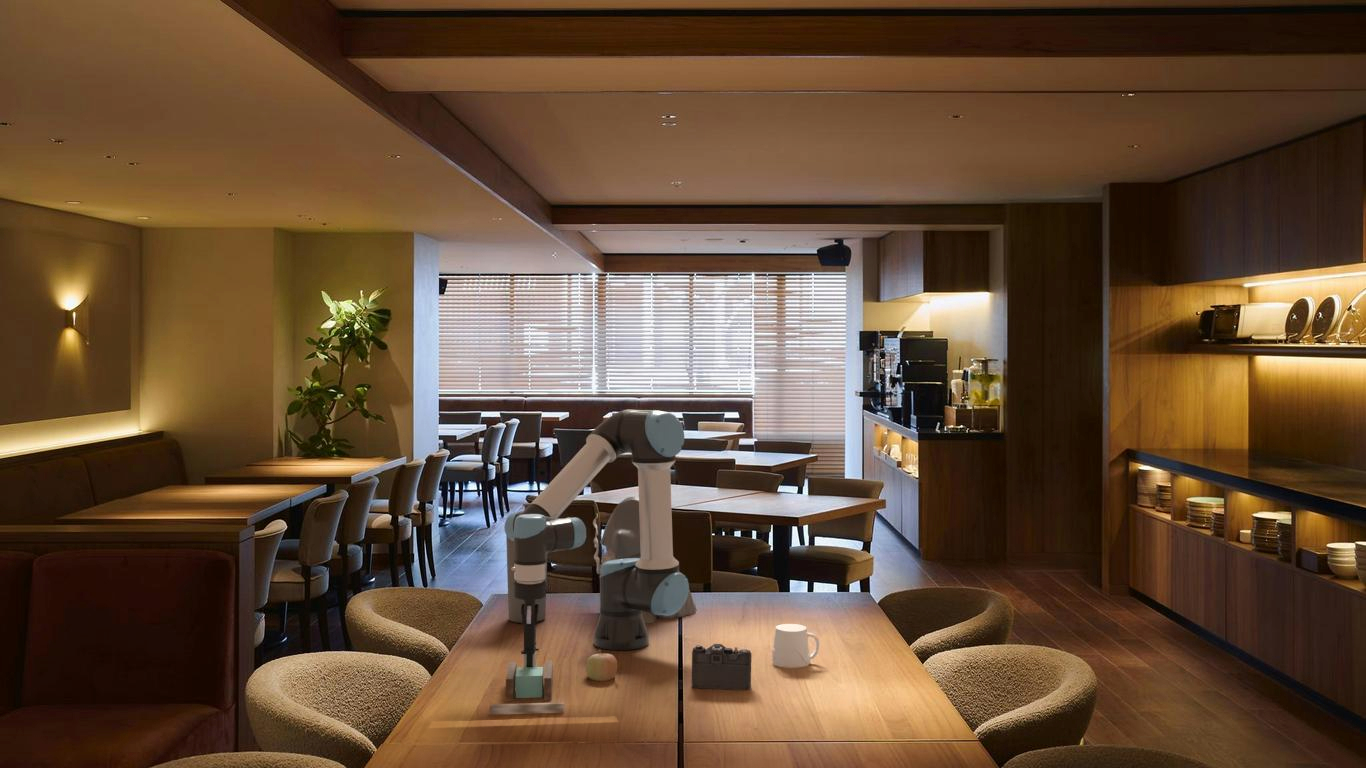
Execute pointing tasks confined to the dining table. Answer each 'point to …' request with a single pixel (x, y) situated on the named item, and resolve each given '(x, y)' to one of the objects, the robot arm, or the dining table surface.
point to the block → (529, 682)
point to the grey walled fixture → (527, 707)
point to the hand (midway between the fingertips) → (529, 679)
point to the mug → (792, 646)
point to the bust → (630, 546)
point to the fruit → (601, 667)
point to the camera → (721, 668)
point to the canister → (513, 602)
